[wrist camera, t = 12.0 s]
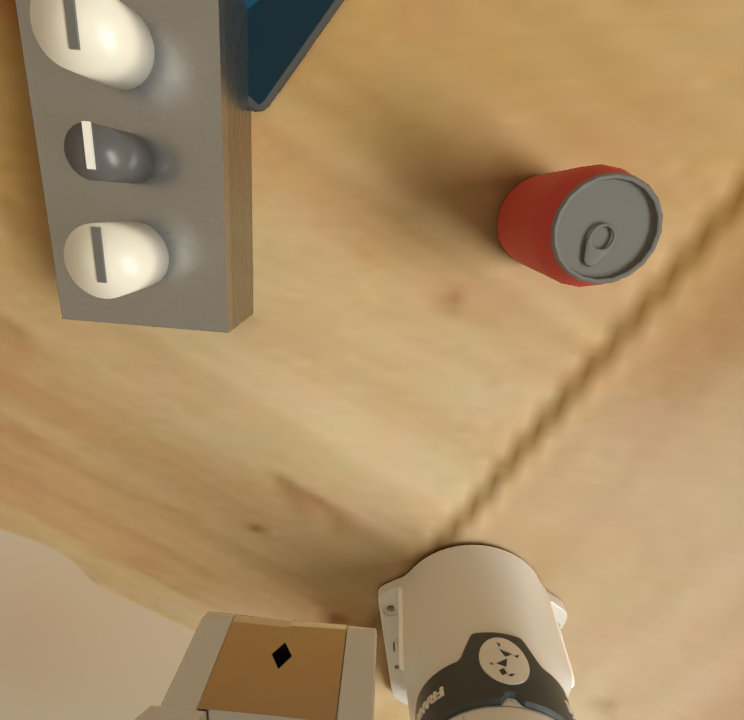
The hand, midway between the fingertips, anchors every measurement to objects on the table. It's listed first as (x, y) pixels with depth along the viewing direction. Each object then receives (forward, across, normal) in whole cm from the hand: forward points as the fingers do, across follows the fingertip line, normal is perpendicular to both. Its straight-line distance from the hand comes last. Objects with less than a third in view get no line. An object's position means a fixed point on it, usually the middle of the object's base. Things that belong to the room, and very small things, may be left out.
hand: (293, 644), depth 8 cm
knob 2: (+29, +16, -3) cm, 33 cm away
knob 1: (+29, +16, -15) cm, 36 cm away
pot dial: (+25, +16, -9) cm, 31 cm away
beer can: (+31, -12, -7) cm, 34 cm away
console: (+31, +16, -9) cm, 36 cm away
